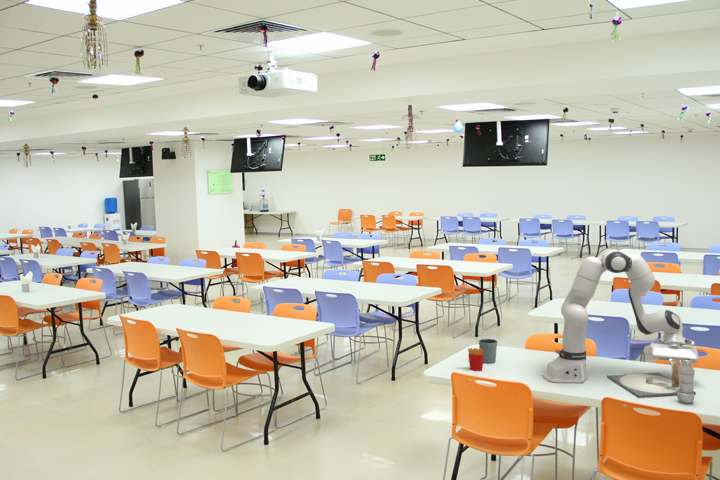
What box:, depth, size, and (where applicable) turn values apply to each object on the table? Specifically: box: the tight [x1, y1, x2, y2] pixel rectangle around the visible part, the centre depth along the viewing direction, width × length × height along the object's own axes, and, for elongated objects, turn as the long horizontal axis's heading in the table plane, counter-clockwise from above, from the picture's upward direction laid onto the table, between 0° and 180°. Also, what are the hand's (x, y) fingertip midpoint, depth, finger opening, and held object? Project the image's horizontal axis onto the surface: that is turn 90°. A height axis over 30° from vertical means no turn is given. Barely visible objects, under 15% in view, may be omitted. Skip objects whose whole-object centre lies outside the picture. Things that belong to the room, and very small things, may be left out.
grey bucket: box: [478, 338, 498, 365], centre depth 322 cm, size 10×10×12 cm
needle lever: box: [646, 359, 681, 388], centre depth 273 cm, size 15×3×14 cm, turn 39°
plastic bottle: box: [676, 358, 695, 404], centre depth 256 cm, size 6×7×20 cm
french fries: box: [467, 347, 484, 372], centre depth 308 cm, size 8×4×12 cm, turn 69°
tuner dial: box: [606, 372, 697, 399], centre depth 278 cm, size 28×28×2 cm
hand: (675, 368), depth 274 cm, fingers closed
